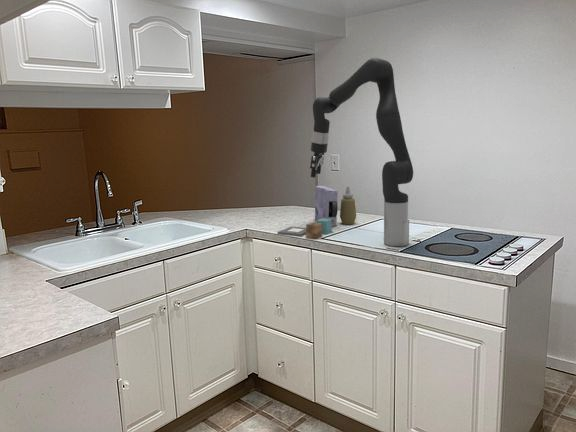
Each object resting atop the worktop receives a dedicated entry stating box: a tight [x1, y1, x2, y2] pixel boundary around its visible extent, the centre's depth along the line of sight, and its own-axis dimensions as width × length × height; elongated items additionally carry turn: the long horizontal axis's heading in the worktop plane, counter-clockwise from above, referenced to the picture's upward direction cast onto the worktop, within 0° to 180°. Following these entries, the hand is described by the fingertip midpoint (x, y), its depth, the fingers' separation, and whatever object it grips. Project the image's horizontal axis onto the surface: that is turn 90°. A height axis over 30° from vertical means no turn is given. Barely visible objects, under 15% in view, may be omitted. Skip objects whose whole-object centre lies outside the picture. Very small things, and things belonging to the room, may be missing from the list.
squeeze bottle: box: [339, 186, 357, 225], centre depth 226 cm, size 8×8×18 cm
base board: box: [277, 226, 306, 238], centre depth 212 cm, size 12×12×1 cm
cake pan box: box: [314, 185, 339, 227], centre depth 228 cm, size 19×5×18 cm, turn 18°
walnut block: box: [305, 222, 323, 240], centre depth 201 cm, size 5×5×6 cm
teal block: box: [316, 218, 333, 235], centre depth 210 cm, size 5×5×6 cm
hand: (315, 175), depth 220 cm, fingers open, 8 cm apart
